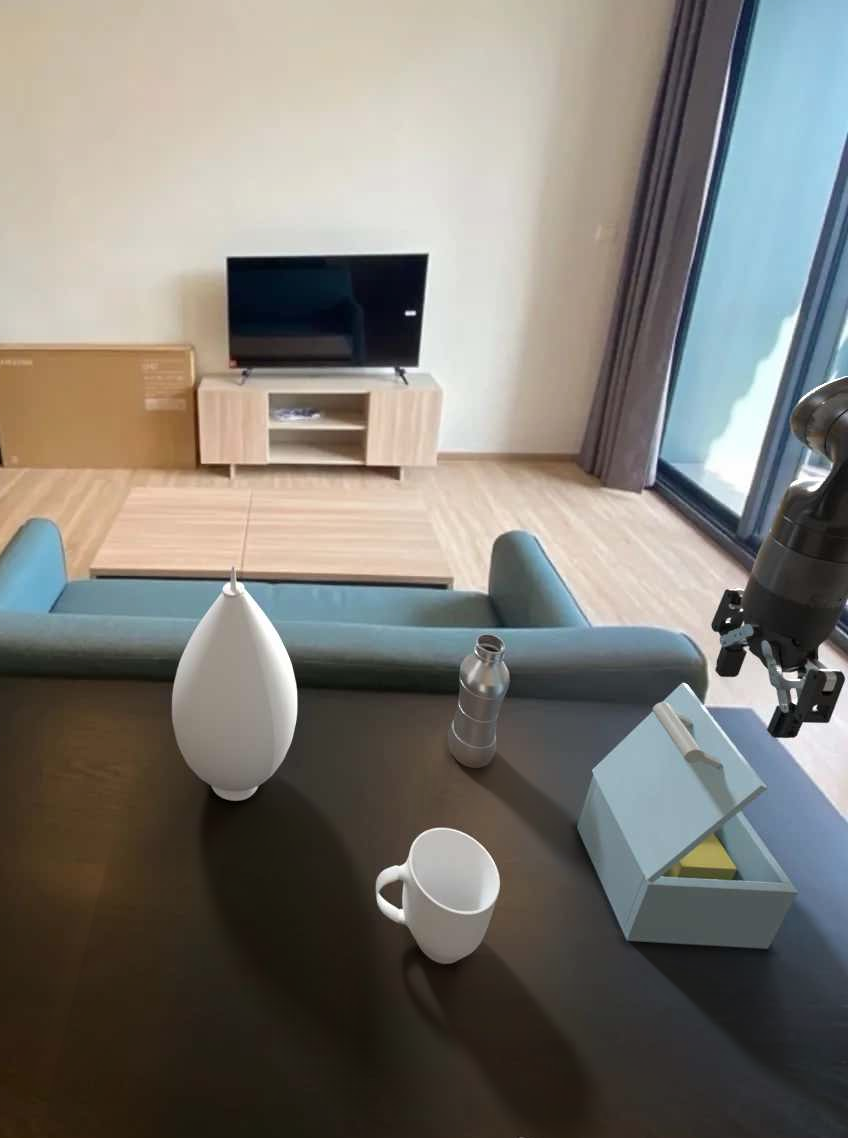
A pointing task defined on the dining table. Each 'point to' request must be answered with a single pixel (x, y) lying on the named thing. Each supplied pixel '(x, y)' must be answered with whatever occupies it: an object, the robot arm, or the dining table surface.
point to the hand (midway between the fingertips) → (750, 703)
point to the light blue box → (689, 887)
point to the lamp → (234, 696)
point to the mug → (444, 893)
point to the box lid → (675, 782)
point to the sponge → (705, 862)
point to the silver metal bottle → (479, 702)
